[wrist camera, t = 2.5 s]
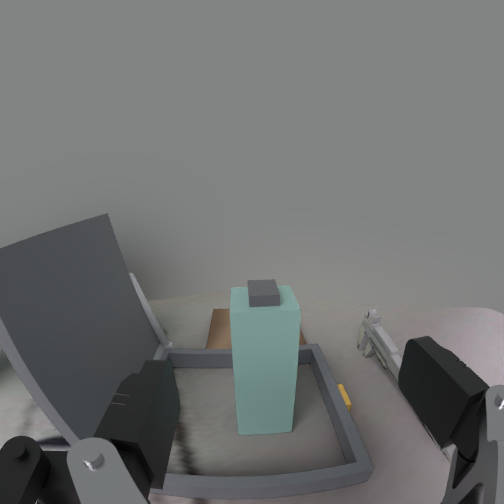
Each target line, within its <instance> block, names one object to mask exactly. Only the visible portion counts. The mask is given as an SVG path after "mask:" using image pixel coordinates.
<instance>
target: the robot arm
mask: <svg viewBox="0 0 504 504" xmlns="http://www.w3.org/2000/svg"><path fill="white" fill-rule="evenodd" d="M398 384H399V388H400V390H401V392H402V393H403V394H404V396H405V397H406V399H407V400H408V401H409V403H410V404H411V406H412V407H413V408H414V410H415V411H416V413H417V414H418V416H419V417H420V418H421V420H422V421H423V423H424V424H425V426H426V427H427V429H428V430H429V431H430V433H431V434H432V436H433V437H434V439H435V440H436V442H437V443H438V445H439V446H440V448H441V449H444V448H446V447H448V446H450V445H452V444H455V445H456V448H455V449H454V451H453V455H452V461H451V467H450V473H449V478H448V483H447V488H446V492H445V496H444V498H443V500H442V502H441V504H504V385H495V386H492V387H489V386H488V385H487V384H486V383H485V382H484V381H483V380H482V379H481V378H480V377H479V376H478V375H476V374H475V373H474V372H473V371H472V370H471V369H470V368H469V367H466V364H465V363H463V362H462V361H460V359H459V358H458V357H457V356H456V355H455V354H454V353H452V352H451V351H449V350H447V349H445V348H443V347H441V346H440V345H438V344H437V343H436V342H435V341H434V340H433V339H432V338H431V337H429V336H424V337H419V338H415V339H410V340H409V341H408V342H407V344H406V347H405V351H404V355H403V359H402V363H401V367H400V370H399V374H398ZM179 409H180V402H179V394H178V390H177V386H176V381H175V377H174V372H173V368H172V364H171V362H170V360H154V359H147V360H146V361H145V363H144V365H143V367H142V369H141V371H140V373H139V374H137V373H132V374H130V375H129V376H128V377H127V378H125V379H124V380H123V381H122V382H121V383H120V385H119V387H118V389H117V391H116V395H114V397H113V398H112V400H111V404H109V406H108V408H107V410H106V412H105V414H104V416H103V418H102V420H101V422H100V424H99V426H98V428H97V430H96V432H95V434H94V436H93V437H92V438H86V439H83V440H80V441H78V442H76V443H75V444H74V445H73V446H72V447H71V448H70V449H69V451H43V450H42V449H41V448H40V446H39V445H38V443H37V442H36V441H35V440H34V439H32V438H30V437H27V436H17V437H14V438H12V439H10V440H8V441H7V442H6V443H5V444H4V445H3V447H2V448H1V450H0V504H35V503H36V501H37V504H151V503H150V501H149V500H148V496H149V492H150V488H153V489H161V490H163V485H164V480H165V475H166V470H167V465H168V460H169V456H170V451H171V447H172V442H173V437H174V433H175V428H176V424H177V420H178V415H179Z"/></svg>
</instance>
